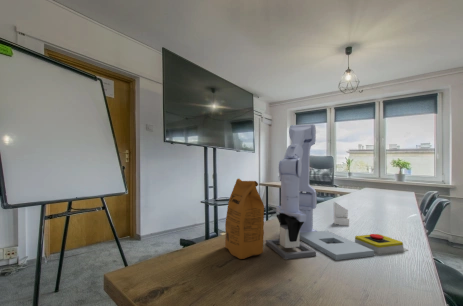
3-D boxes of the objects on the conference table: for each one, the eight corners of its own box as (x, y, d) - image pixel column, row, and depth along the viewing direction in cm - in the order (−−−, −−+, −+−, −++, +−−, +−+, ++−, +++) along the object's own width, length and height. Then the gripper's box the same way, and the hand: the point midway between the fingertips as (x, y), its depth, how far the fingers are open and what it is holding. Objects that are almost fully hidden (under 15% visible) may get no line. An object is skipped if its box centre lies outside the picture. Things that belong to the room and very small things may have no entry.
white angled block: (323, 216, 104) (333, 201, 104) (343, 228, 102) (352, 213, 102) (326, 218, 100) (335, 202, 100) (345, 230, 99) (356, 214, 98)
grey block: (279, 243, 69) (279, 225, 70) (293, 242, 71) (293, 224, 71) (285, 247, 66) (285, 228, 66) (299, 246, 67) (299, 227, 68)
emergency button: (350, 232, 75) (382, 229, 79) (350, 245, 74) (382, 242, 79) (374, 242, 66) (409, 238, 70) (375, 256, 65) (409, 252, 70)
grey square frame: (266, 243, 73) (266, 240, 73) (292, 241, 76) (292, 237, 76) (284, 259, 61) (285, 254, 61) (316, 255, 64) (316, 251, 64)
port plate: (296, 237, 80) (296, 232, 80) (327, 234, 84) (327, 230, 84) (336, 260, 61) (336, 254, 61) (374, 255, 65) (374, 250, 65)
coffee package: (247, 242, 74) (248, 178, 75) (267, 256, 62) (269, 180, 64) (220, 246, 70) (222, 178, 71) (236, 262, 58) (238, 181, 60)
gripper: (268, 193, 75) (268, 232, 74) (291, 200, 61) (290, 248, 60) (286, 192, 77) (286, 231, 76) (312, 199, 63) (312, 246, 62)
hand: (289, 238), depth 68 cm, fingers closed on grey block, 3 cm apart
